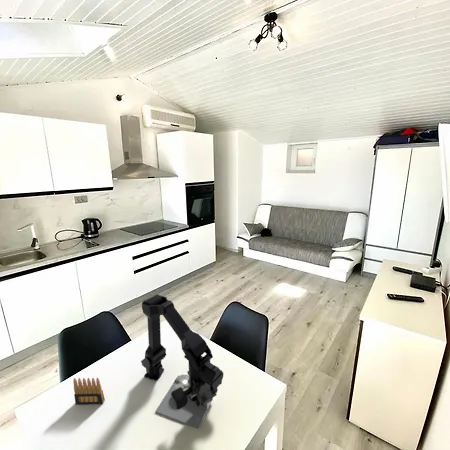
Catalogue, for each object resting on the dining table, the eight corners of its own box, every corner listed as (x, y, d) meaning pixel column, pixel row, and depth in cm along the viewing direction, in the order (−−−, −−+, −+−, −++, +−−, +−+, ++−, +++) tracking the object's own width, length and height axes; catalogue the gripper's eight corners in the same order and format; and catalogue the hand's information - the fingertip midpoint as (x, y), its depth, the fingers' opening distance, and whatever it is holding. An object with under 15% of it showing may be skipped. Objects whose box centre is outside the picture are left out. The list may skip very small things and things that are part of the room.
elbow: (171, 393, 99) (170, 384, 98) (182, 380, 105) (181, 371, 104) (205, 412, 92) (204, 402, 91) (214, 396, 98) (214, 388, 97)
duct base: (155, 412, 93) (154, 406, 92) (178, 376, 108) (177, 371, 108) (198, 428, 87) (197, 422, 86) (215, 388, 103) (215, 382, 102)
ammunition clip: (104, 400, 98) (100, 375, 95) (102, 404, 96) (98, 379, 93) (78, 400, 98) (73, 376, 95) (75, 404, 96) (70, 380, 93)
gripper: (182, 402, 78) (184, 439, 81) (230, 374, 88) (230, 408, 92) (169, 377, 86) (171, 412, 90) (213, 355, 97) (214, 387, 101)
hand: (197, 405), depth 93 cm, fingers closed
